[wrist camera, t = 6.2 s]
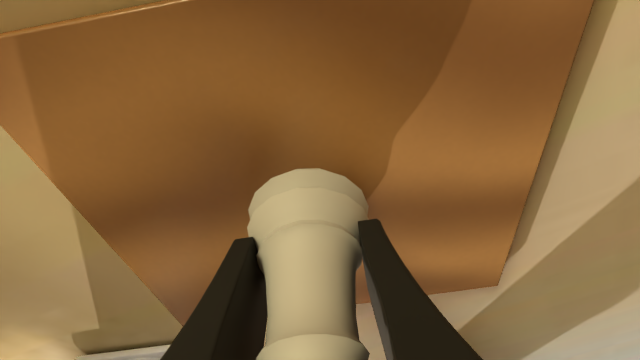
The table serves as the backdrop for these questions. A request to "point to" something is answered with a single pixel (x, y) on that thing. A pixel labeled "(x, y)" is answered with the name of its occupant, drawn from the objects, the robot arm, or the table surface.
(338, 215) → the rook chess piece
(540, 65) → the brown wooden board
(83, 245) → the table surface
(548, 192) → the table surface
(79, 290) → the table surface
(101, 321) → the table surface
